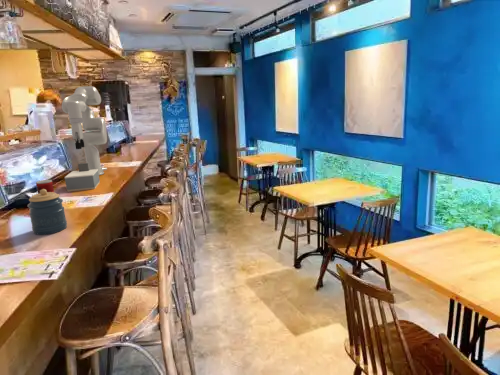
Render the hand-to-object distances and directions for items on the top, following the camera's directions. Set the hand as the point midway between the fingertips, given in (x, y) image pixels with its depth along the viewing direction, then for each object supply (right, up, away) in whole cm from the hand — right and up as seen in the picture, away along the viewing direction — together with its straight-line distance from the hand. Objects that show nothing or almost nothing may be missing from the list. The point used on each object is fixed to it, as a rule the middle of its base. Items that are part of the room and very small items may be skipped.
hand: (80, 148), depth 237 cm
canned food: (-4, -33, -31) cm, 45 cm away
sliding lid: (+3, -17, -3) cm, 17 cm away
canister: (+25, -43, -82) cm, 96 cm away
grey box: (+3, -25, -1) cm, 25 cm away
